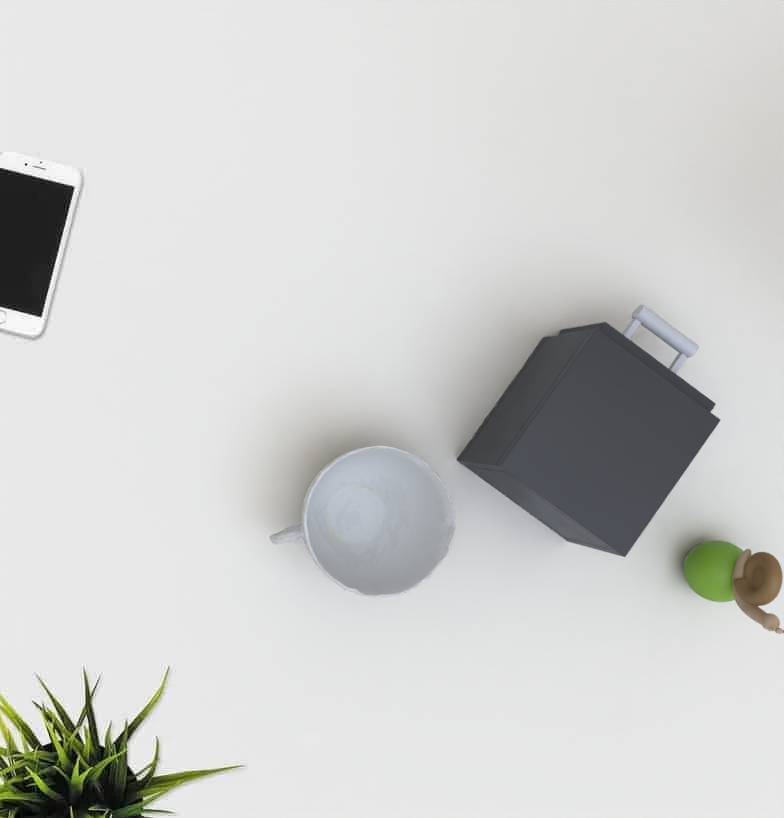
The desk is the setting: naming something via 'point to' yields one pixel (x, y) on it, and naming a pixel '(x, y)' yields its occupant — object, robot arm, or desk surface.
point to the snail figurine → (736, 578)
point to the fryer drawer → (664, 333)
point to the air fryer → (589, 440)
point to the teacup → (375, 521)
